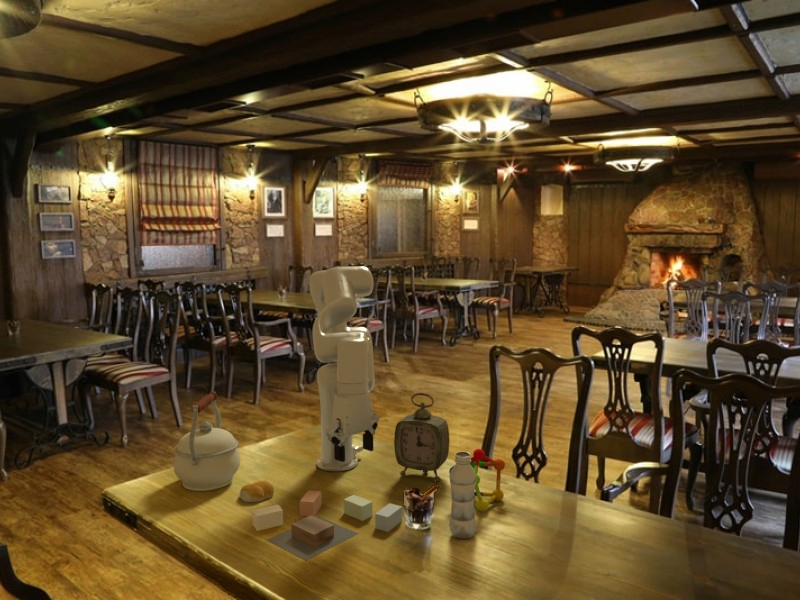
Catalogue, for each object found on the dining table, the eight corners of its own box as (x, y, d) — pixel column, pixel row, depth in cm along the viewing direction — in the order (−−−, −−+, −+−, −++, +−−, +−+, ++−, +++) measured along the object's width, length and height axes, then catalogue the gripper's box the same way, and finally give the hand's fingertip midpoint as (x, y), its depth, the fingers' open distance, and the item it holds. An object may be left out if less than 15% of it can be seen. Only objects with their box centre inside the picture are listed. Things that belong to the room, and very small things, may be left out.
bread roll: (279, 495, 175) (279, 481, 174) (251, 506, 168) (251, 491, 168) (262, 487, 180) (262, 473, 180) (234, 497, 174) (234, 483, 174)
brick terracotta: (308, 508, 166) (308, 490, 166) (321, 509, 165) (321, 491, 165) (300, 520, 160) (299, 501, 159) (313, 521, 159) (313, 502, 158)
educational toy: (462, 491, 178) (465, 438, 177) (507, 501, 172) (509, 446, 172) (440, 508, 164) (442, 451, 164) (487, 519, 158) (490, 459, 158)
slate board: (318, 520, 159) (318, 516, 159) (358, 538, 150) (358, 533, 150) (266, 545, 147) (266, 540, 147) (306, 565, 138) (306, 560, 138)
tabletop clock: (394, 477, 186) (393, 394, 183) (406, 466, 194) (405, 386, 191) (441, 485, 180) (441, 399, 177) (451, 473, 188) (451, 391, 185)
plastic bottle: (479, 530, 153) (479, 450, 151) (473, 544, 147) (473, 460, 144) (453, 527, 155) (453, 447, 153) (446, 540, 149) (445, 457, 146)
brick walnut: (311, 526, 153) (310, 515, 153) (334, 537, 148) (333, 525, 148) (291, 536, 149) (291, 523, 149) (314, 547, 144) (314, 534, 143)
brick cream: (278, 523, 158) (278, 504, 157) (283, 529, 155) (282, 510, 154) (253, 529, 155) (252, 510, 154) (257, 536, 152) (256, 516, 151)
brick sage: (344, 518, 161) (343, 499, 160) (354, 513, 163) (353, 494, 163) (362, 525, 156) (362, 506, 156) (372, 520, 159) (372, 501, 159)
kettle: (227, 498, 173) (223, 409, 170) (161, 497, 174) (156, 408, 171) (253, 463, 198) (250, 385, 195) (195, 463, 199) (191, 385, 196)
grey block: (389, 522, 158) (389, 503, 158) (402, 525, 156) (402, 506, 156) (375, 533, 153) (375, 513, 152) (388, 537, 151) (387, 517, 150)
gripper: (367, 379, 165) (368, 443, 167) (315, 392, 152) (317, 461, 154) (388, 383, 160) (389, 449, 162) (337, 397, 147) (338, 468, 149)
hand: (354, 455), depth 158 cm, fingers open, 9 cm apart
